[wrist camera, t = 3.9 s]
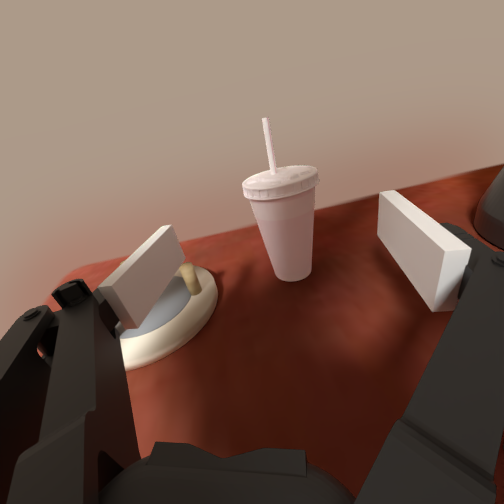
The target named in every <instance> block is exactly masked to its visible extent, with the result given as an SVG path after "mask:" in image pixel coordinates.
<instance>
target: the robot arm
mask: <svg viewBox="0 0 504 504" xmlns="http://www.w3.org/2000/svg"><path fill="white" fill-rule="evenodd" d="M474 227H475V229H476V230H477V232H478V233H479V234H480V235H481V236H482V237H484V238H485V239H486V240H488V241H489V242H491V243H493V244H495V245H496V246H498V247H500V248H502V249H504V167H503V168H502V170H501V171H500V172H499V174H498V175H497V176H496V178H495V179H494V181H493V182H492V183H491V185H490V186H489V188H488V189H487V190H486V192H485V193H484V194H483V196H482V197H481V199H480V201H479V203H478V207H477V211H476V214H475V218H474ZM377 235H378V237H379V238H380V240H381V241H382V242H383V244H384V245H385V247H386V248H387V249H388V251H389V252H390V254H391V255H392V256H393V258H394V259H395V261H396V262H397V263H398V265H399V266H400V268H401V269H402V270H403V272H404V273H405V275H406V276H407V277H408V279H409V280H410V282H411V283H412V284H413V286H414V287H415V289H416V290H417V291H418V293H419V294H420V296H421V297H422V298H423V300H424V301H425V303H426V304H427V305H428V307H429V308H430V310H431V311H432V312H440V311H454V312H453V314H452V316H451V318H450V320H449V322H448V324H447V326H446V328H445V330H444V332H443V334H442V336H441V338H440V341H439V343H438V345H437V347H436V349H435V351H434V353H433V355H432V357H431V359H430V361H429V363H428V365H427V367H426V369H425V371H424V373H423V375H422V377H421V379H420V381H419V383H418V386H417V388H416V390H415V392H414V394H413V396H412V398H411V400H410V402H409V404H408V406H407V408H406V410H405V412H404V414H403V416H402V417H401V419H397V421H396V422H395V424H394V425H393V427H392V429H391V431H390V432H389V434H388V436H387V438H386V440H385V442H384V444H383V446H382V448H381V450H380V452H379V454H378V456H377V458H376V460H375V462H374V464H373V466H372V468H371V470H370V472H369V474H368V476H367V478H366V480H365V482H364V484H363V486H362V488H361V490H360V492H359V494H358V496H357V498H355V497H354V496H353V495H352V493H351V492H350V491H349V490H348V489H347V488H346V487H345V486H344V485H343V484H342V483H340V482H339V481H338V480H337V479H336V478H334V477H333V476H332V475H330V474H329V473H328V472H326V471H324V470H322V469H321V468H319V467H317V466H315V465H312V464H310V463H308V461H307V457H306V452H305V450H295V449H277V448H262V449H258V450H254V451H251V452H247V453H243V454H239V455H236V456H232V457H228V458H220V457H217V456H215V455H213V454H211V453H208V452H206V451H204V450H202V449H200V448H197V447H195V446H193V445H191V444H188V443H170V442H155V445H154V447H153V450H152V452H151V455H150V456H147V457H145V458H143V459H141V457H140V453H139V449H138V443H137V437H136V431H135V425H134V419H133V413H132V407H131V402H130V396H129V390H128V384H127V378H126V372H125V366H124V360H123V354H122V348H121V342H120V337H119V332H118V330H117V329H116V327H115V326H116V325H117V324H118V322H119V321H120V322H121V324H122V325H123V327H124V328H125V329H138V328H139V327H140V325H141V324H142V322H143V321H144V319H145V318H146V316H147V315H148V313H149V312H150V311H151V309H152V308H153V306H154V305H155V303H156V302H157V300H158V299H159V297H160V296H161V294H162V293H163V291H164V290H165V288H166V287H167V285H168V284H169V282H170V281H171V279H172V278H173V276H174V275H175V273H176V272H177V270H178V269H179V267H180V266H181V264H182V263H183V261H184V260H185V256H184V253H183V251H182V248H181V246H180V244H179V241H178V239H177V236H176V234H175V231H174V229H173V226H172V225H167V226H161V227H160V228H159V229H158V230H157V231H156V232H155V233H154V234H153V235H152V236H151V237H150V238H149V239H148V240H147V241H146V242H145V243H144V244H142V246H140V247H139V248H138V249H137V250H136V251H135V252H134V253H133V254H132V255H131V256H130V257H129V258H128V259H127V260H126V261H125V262H123V263H122V264H121V265H120V266H119V267H118V268H117V269H116V270H115V271H114V272H113V273H112V274H111V275H110V276H109V277H108V278H107V279H105V280H104V281H103V282H102V283H101V284H100V285H99V286H98V287H97V289H96V290H95V291H94V292H93V293H92V292H91V291H90V289H89V288H88V286H87V285H86V283H85V282H84V280H83V279H75V280H72V281H69V282H67V283H65V284H63V285H61V286H60V287H58V288H57V289H55V290H54V291H53V293H52V294H51V295H52V296H53V297H54V299H55V300H56V301H57V302H58V304H59V305H60V306H61V308H62V310H59V311H56V312H52V311H51V309H50V308H49V307H48V306H47V305H42V306H38V307H36V308H32V309H30V310H28V311H27V312H25V313H24V314H23V315H22V316H20V318H18V319H17V320H16V321H15V323H14V324H13V325H12V327H11V328H10V329H9V330H8V332H7V333H6V334H5V335H4V337H3V338H2V339H1V340H0V504H495V499H496V485H495V483H494V471H495V466H496V461H497V457H498V452H499V448H500V443H501V438H502V434H503V429H504V252H495V251H493V250H492V249H490V248H489V247H488V246H486V245H485V244H483V243H482V242H480V241H479V240H477V239H476V238H475V239H474V237H473V236H472V235H470V234H467V232H466V231H464V230H463V229H461V228H460V227H458V226H455V225H452V224H449V223H440V224H439V223H437V222H436V221H435V220H433V219H432V218H431V217H429V216H428V215H427V214H425V213H424V212H423V211H421V210H420V209H419V208H417V207H416V206H415V205H414V204H412V203H411V202H410V201H408V200H407V199H406V198H404V197H403V196H402V195H400V194H399V193H398V192H396V191H395V190H390V191H384V192H379V212H378V232H377ZM458 299H459V302H458V304H457V301H458ZM456 305H457V306H456ZM37 348H38V350H39V351H40V352H41V353H42V354H43V356H42V358H41V357H40V356H39V354H38V352H37Z"/></svg>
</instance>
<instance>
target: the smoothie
mask: <svg viewBox="0 0 504 504" xmlns="http://www.w3.org/2000/svg"><path fill="white" fill-rule="evenodd" d="M262 124H263V130H264V136H265V142H266V148H267V154H268V160H269V166H270V170H268V171H264V172H261V173H258V174H255V175H253V176H251V177H249V178H247V179H246V180H245V181H244V182H243V183H242V186H243V191H244V194H243V195H244V196H245V198H248V199H249V201H250V204H251V207H252V210H253V213H254V216H255V218H256V221H257V224H258V227H259V229H260V232H261V235H262V238H263V241H264V244H265V246H266V249H267V252H268V255H269V258H270V260H271V263H272V266H273V269H274V272H275V275H276V276H277V277H278V278H279V279H280V280H283V281H289V282H292V281H299V280H302V279H304V278H306V277H307V276H308V275H309V274H310V273H311V268H312V245H313V223H314V203H315V186H316V185H317V184H318V183H319V179H318V170H317V168H315V167H313V166H307V165H297V166H287V167H281V168H276V161H275V154H274V148H273V141H272V134H271V128H270V122H269V117H266V118H262Z"/></svg>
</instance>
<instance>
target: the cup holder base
mask: <svg viewBox="0 0 504 504" xmlns="http://www.w3.org/2000/svg"><path fill="white" fill-rule="evenodd" d="M125 261H126V260H125ZM125 261H123V262H125ZM123 262H121V263H120V265H121V264H122V263H123ZM217 300H218V289H217V287H216V284H215V281H214V278H213V276H212V275H211V274H210V273H209V272H208V271H207V270H205V269H204V268H201V267H198V266H193V265H192V263H191V262H186V263H184V264H182V265H181V266H180V267H179V269H178V270H177V272H176V273H175V275H174V276H173V278H172V279H171V281H170V282H169V284H168V285H167V287H166V288H165V290H164V291H163V293H162V294H161V296H160V297H159V299H158V300H157V302H156V303H155V305H154V306H153V308H152V309H151V311H150V312H149V313H148V315H147V316H146V318H145V319H144V321H143V322H142V324H141V325H140V327H139V328H138V329H125V328H124V327H123V325H122V324H121V322H120V321H119V322H118V324H117V325H116V326H115V327H116V329H117V330H118V332H119V337H120V342H121V348H122V354H123V360H124V366H125V371H130V370H135V369H138V368H141V367H144V366H147V365H149V364H152V363H154V362H157V361H159V360H160V359H162V358H164V357H166V356H168V355H170V354H171V353H173V352H174V351H176V350H178V349H179V348H180V347H182V346H183V345H184V344H186V343H187V342H188V341H189V340H191V339H192V338H193V337H194V336H195V335H196V334H197V333H198V332H199V331H200V330H201V329H202V328H203V327H204V325H205V324H206V323H207V321H208V320H209V318H210V317H211V315H212V314H213V312H214V309H215V307H216V304H217Z"/></svg>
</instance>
